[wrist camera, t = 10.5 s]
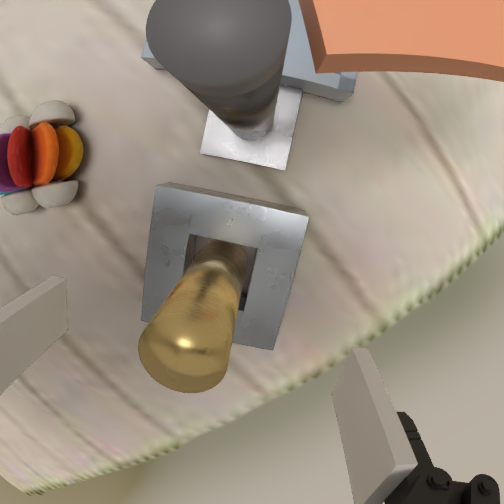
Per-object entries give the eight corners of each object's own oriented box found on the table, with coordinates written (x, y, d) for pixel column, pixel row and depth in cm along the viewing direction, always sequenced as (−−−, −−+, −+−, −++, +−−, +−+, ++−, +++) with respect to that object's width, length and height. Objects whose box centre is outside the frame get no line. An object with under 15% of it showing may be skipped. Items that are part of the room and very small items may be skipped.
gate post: (201, 153, 22) (91, 140, 7) (219, 75, 21) (149, -45, 6) (284, 170, 22) (322, 182, 7) (301, 91, 21) (360, -20, 6)
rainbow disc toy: (97, 198, 24) (44, 214, 17) (18, 213, 24) (-35, 230, 17) (90, 98, 21) (36, 83, 14) (10, 126, 22) (-43, 125, 15)
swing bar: (584, 115, 7) (626, 116, 4) (186, 116, 8) (153, 97, 6) (571, 55, 6) (610, 49, 3) (174, 28, 8) (142, -16, 5)
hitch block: (153, 303, 26) (141, 320, 23) (169, 182, 23) (156, 185, 20) (272, 330, 26) (272, 350, 23) (303, 210, 23) (309, 216, 20)
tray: (155, 69, 21) (140, 57, 17) (192, -40, 18) (184, -59, 14) (341, 102, 21) (353, 93, 18) (360, -12, 18) (371, -30, 15)
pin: (195, 277, 25) (137, 380, 12) (203, 232, 24) (140, 307, 11) (241, 287, 25) (219, 401, 12) (251, 242, 24) (235, 330, 11)
